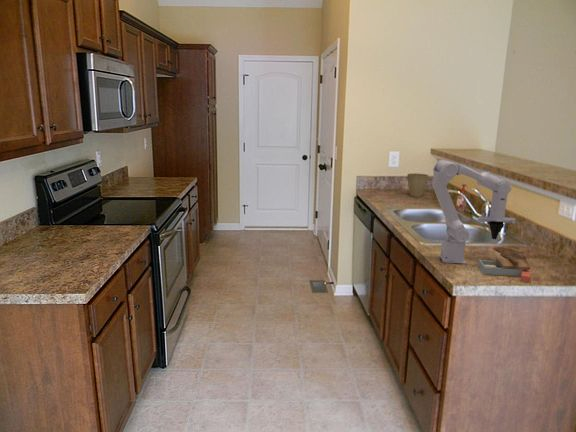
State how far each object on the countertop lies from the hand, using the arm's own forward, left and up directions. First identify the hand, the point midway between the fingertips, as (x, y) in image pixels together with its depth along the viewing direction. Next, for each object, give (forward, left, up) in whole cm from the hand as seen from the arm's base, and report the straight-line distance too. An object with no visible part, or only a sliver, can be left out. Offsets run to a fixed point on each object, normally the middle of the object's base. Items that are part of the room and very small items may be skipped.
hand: (493, 238), depth 195 cm
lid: (+4, -14, -7) cm, 16 cm away
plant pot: (-12, +141, -10) cm, 142 cm away
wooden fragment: (+12, +9, -10) cm, 18 cm away
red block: (+7, -20, -10) cm, 23 cm away
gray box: (-1, -14, -10) cm, 17 cm away
